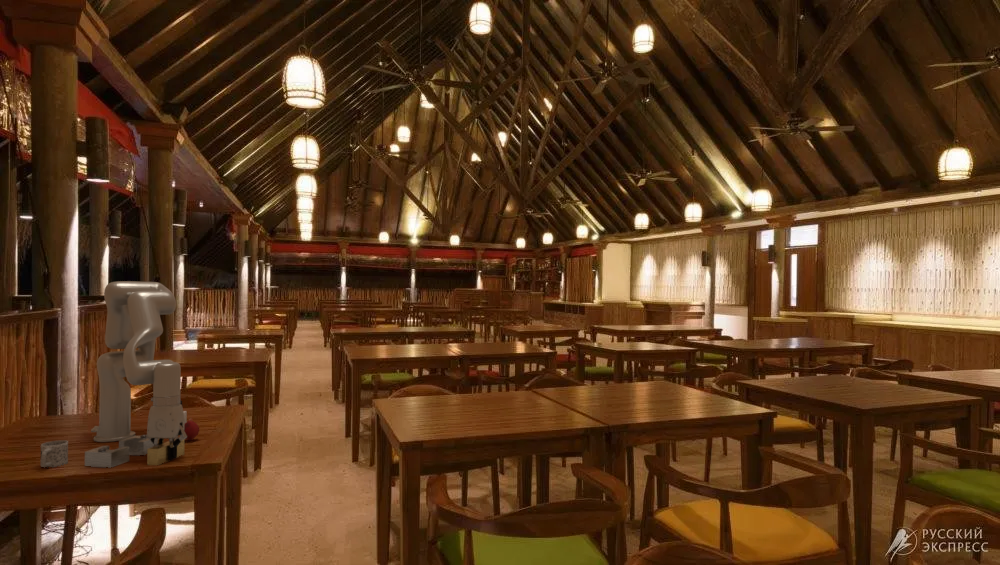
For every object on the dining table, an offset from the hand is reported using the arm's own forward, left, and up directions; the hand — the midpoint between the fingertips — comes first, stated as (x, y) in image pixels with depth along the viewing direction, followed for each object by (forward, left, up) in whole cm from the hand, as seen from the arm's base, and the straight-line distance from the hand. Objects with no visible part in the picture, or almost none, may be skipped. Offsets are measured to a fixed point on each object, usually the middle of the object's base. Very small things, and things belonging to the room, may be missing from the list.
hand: (166, 458), depth 181 cm
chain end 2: (-15, +7, 0) cm, 16 cm away
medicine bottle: (-24, +34, -1) cm, 42 cm away
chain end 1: (-15, -6, 0) cm, 16 cm away
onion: (-8, +22, -1) cm, 23 cm away
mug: (-30, -11, -1) cm, 32 cm away
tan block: (0, 0, 0) cm, 0 cm away
